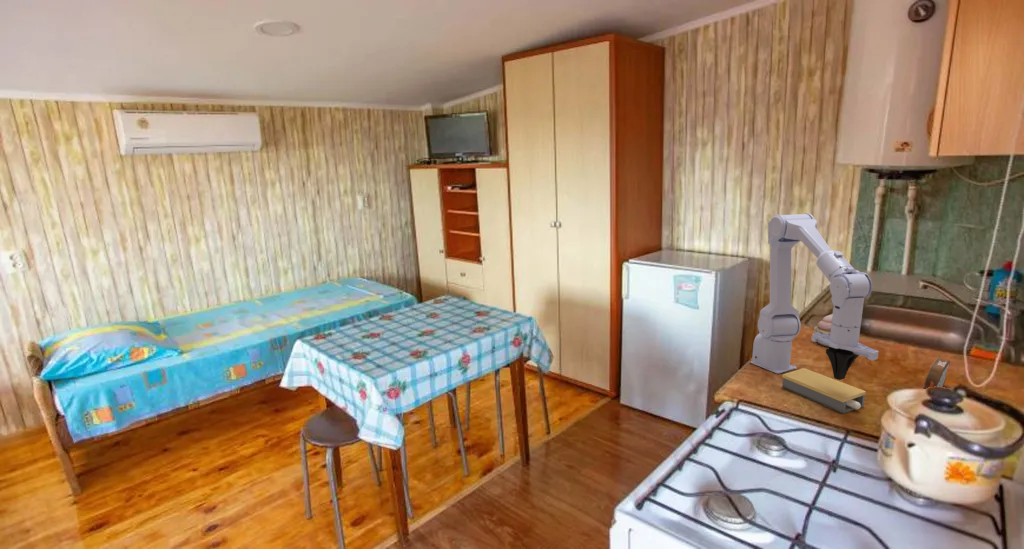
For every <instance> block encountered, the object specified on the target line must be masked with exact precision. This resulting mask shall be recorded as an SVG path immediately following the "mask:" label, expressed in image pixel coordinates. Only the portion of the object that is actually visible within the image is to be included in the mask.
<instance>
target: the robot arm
mask: <svg viewBox="0 0 1024 549" xmlns="http://www.w3.org/2000/svg"><path fill="white" fill-rule="evenodd" d="M767 229H768V230H767V231H768V232H767V240H768V241H767V243H768V244H769V245H770V246H769V303H768V304H766V306H764V307H763V308H761V309H760V310H759V318H758V320H757V329H758V330H757V331H758V332H759V333H757V335H756V336H755V338H754V340H753V343H752V344H753V345H752V355H751V356H752V357H751V358H752V359H753V358H754V357H755V358H754V359H753V360H752V359H751V360H750V361H751V362H750V361H749V363H751V364H753V365H755V366H758V367H760V368H763V369H765V370H767V371H769V372H772V373H775V374H776V375H777V374H778V375H779V374H782V373H783V374H784V373H785V372H786V373H787V372H788V371H789V372H791V371H794V370H795V369H796V370H797V369H798V368H797V366H796V365H794V364H790V363H791V355H792V346H793V340H795V339H796V336H798V335H799V334H800V332H801V330H802V322H801V319H800V315H799V314H800V311H799V310H798V309H797V308H795V306H793V305H792V302H791V301H792V300H791V298H792V248H793V247H795V246H796V245H797V244H798V243H802V244H803V245H804V246H805V247H806V248H807V249H808V250H809V251H810V252H811V253H812V254H813V255H814V256H815V258H817V259H816V266H817V267H818V269H819V271H820V272H821V273H822V274H823V275H824V276H825V278H826V279H827V280H828V281H829V292H830V294H831V302H832V305H833V308H832V314H833V315H832V324H831V332H830V335H826V334H821V333H818V332H817V333H816V332H814V333H812V334H811V340H810V341H811V342H814V343H818V342H820V343H823V344H826V345H829V346H830V347H828V348H826V349H825V354H826V355H827V357H828V359H829V362H830V365H831V367H832V374H833V379H834V380H837V381H842V380H845V378H846V375H847V373H848V371H849V369H850V367H851V366H852V364H853V363H854V361H855V360H856V359H857V358H858V357H859V356H861V357H863V358H867V360H869V361H872V362H873V361H875V360H878V358H879V352H880V351H879V350H876V349H874V348H871V347H870V346H867V345H865V344H862V343H861V342H859V341H860V333H861V326H862V325H861V324H862V318H863V310H864V302H865V298H868V297H869V296H870V295H871V293H872V291H873V283H872V279H871V278H870V276H869V274H868V273H866V272H861V271H860V270H859V269H858V270H857V269H855V268H854V266H853V265H852V264H850V262H849V261H848V260H847V259H846V257H845V256H844V254H843V252H842V251H839V250H837V249H836V250H832V249H831V248H830V246H829V244H828V243H827V242H826V240H825V239H824V238H823V236H822V235H821V233H820V231H819V230H818V220H816V218H815V216H813V215H812V214H811V213H809V212H807V213H800V214H799V213H797V214H796V213H795V214H775V215H773V217H772V218H771V219H770V220H768V224H767Z"/></svg>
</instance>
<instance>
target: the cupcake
mask: <svg viewBox="0 0 1024 549" xmlns="http://www.w3.org/2000/svg"><path fill="white" fill-rule="evenodd" d="M832 315H833V313H830V314H829V315H826V316H824V317H823V318H822V319H821V320H820V321H819V322H818V323H817V326H814V331H815V332H814V333H817V332H818V333H821V334H826V335H830V332H831V324H832ZM817 343H818V344H819V345H821V346H823V347H828V348H829V347H830V346H829V345H826V344H823V343H820V342H817Z"/></svg>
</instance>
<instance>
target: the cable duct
mask: <svg viewBox="0 0 1024 549" xmlns="http://www.w3.org/2000/svg"><path fill="white" fill-rule="evenodd" d="M781 385H782V386H781V388H782V389H785V390H786V391H789V392H791V393H793V392H794V393H793V394H795V395H798V396H800V395H801V396H800V397H803V396H804V397H803V398H805V397H806V398H805V399H807V398H808V400H810V401H813V402H815V403H817V404H819V405H822V406H824V407H826V408H827V409H830V410H833V411H834V412H838V413H839V414H846V413H848V412H851V411H854V410H860V408H862V407H864V406H865V398H866V394H865V395H862V396H860V397H857V398H854V399H852V400H849V401H846V402H841V401H838V400H836V399H833V398H831V397H828V396H826V395H824V394H821V393H819V392H816V391H814V390H811V389H809V388H807V387H804V386H802V385H799V384H797V383H795V382H792V381H790V380H787V379H785V378H782V384H781Z"/></svg>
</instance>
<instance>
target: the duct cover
mask: <svg viewBox="0 0 1024 549" xmlns="http://www.w3.org/2000/svg"><path fill="white" fill-rule="evenodd" d="M783 378H785V379H787V380H790V381H792V382H795V383H797V384H799V385H802V386H804V387H807V388H809V389H811V390H814V391H816V392H819V393H821V394H824V395H826V396H828V397H831V398H833V399H836V400H838V401H841V402H846V401H849V400H852V399H854V398H857V397H860V396H862V395H865V396H866V393H867V392H866V391H865V390H863V389H860V388H858V387H855V386H854V385H853V386H852V385H850V384H848V383H845V382H842V381H841V380H838V379H835V378H831V377H829V376H826V375H824V374H821V373H819V372H815V371H813V370H811V369H808V368H806V367H803V368H800V369H796V370H791V371H789V372H786V373H783V374H782V379H783Z"/></svg>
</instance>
